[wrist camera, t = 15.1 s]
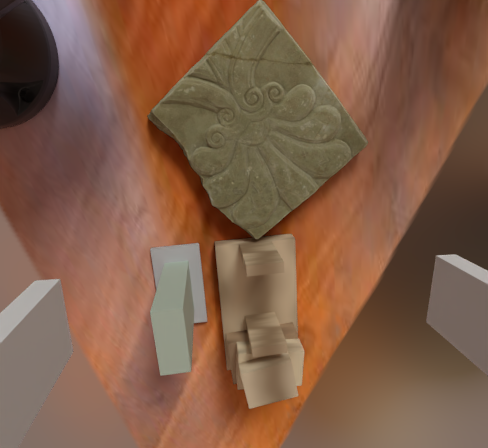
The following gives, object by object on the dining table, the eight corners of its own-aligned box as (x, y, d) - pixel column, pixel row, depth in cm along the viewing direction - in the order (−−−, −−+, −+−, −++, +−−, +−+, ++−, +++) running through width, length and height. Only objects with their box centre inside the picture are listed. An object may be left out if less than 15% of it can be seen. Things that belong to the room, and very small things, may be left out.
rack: (226, 360, 49) (230, 410, 40) (214, 241, 44) (217, 269, 35) (294, 351, 49) (313, 398, 41) (291, 233, 45) (312, 258, 36)
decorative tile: (258, 3, 37) (263, -10, 34) (361, 143, 43) (374, 144, 40) (136, 120, 39) (130, 120, 36) (250, 240, 45) (254, 250, 41)
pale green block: (171, 312, 45) (160, 375, 33) (164, 263, 43) (150, 312, 32) (194, 309, 45) (191, 371, 34) (188, 260, 43) (182, 308, 32)
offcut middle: (236, 375, 44) (237, 389, 42) (236, 341, 43) (238, 354, 40) (296, 371, 45) (301, 385, 43) (298, 338, 44) (304, 350, 41)
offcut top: (247, 396, 42) (249, 408, 40) (238, 362, 41) (240, 374, 39) (294, 383, 42) (298, 396, 40) (287, 350, 41) (291, 361, 39)
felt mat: (162, 324, 46) (162, 327, 45) (151, 247, 43) (150, 249, 42) (207, 319, 46) (207, 321, 46) (198, 243, 43) (198, 244, 43)
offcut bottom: (231, 371, 47) (233, 384, 44) (226, 333, 45) (227, 344, 43) (295, 359, 47) (300, 371, 45) (292, 322, 46) (297, 332, 43)
